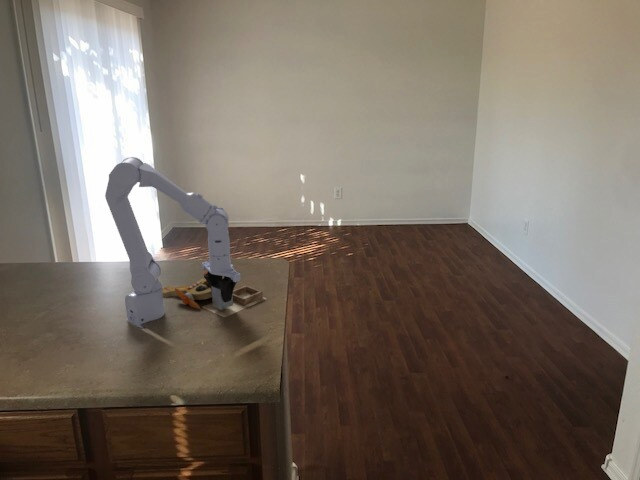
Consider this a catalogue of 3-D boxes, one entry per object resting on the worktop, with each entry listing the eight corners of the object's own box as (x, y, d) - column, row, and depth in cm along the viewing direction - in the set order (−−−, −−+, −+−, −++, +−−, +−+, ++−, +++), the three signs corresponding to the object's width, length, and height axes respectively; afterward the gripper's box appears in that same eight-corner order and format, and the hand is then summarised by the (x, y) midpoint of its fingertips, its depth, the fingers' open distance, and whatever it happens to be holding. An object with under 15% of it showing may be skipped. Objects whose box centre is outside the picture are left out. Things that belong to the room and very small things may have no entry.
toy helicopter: (233, 289, 156) (214, 315, 144) (175, 294, 162) (152, 319, 151) (225, 266, 152) (205, 291, 141) (166, 272, 159) (142, 296, 147)
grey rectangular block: (221, 309, 141) (220, 289, 139) (212, 305, 143) (211, 286, 142) (232, 305, 144) (231, 285, 142) (223, 301, 146) (222, 281, 144)
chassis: (224, 320, 140) (223, 310, 139) (202, 310, 146) (201, 300, 145) (267, 301, 151) (266, 292, 150) (244, 292, 157) (244, 283, 156)
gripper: (248, 255, 137) (250, 301, 141) (214, 244, 146) (217, 287, 150) (227, 262, 132) (230, 309, 136) (194, 250, 141) (197, 295, 145)
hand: (222, 298), depth 143 cm, fingers closed on grey rectangular block, 4 cm apart
